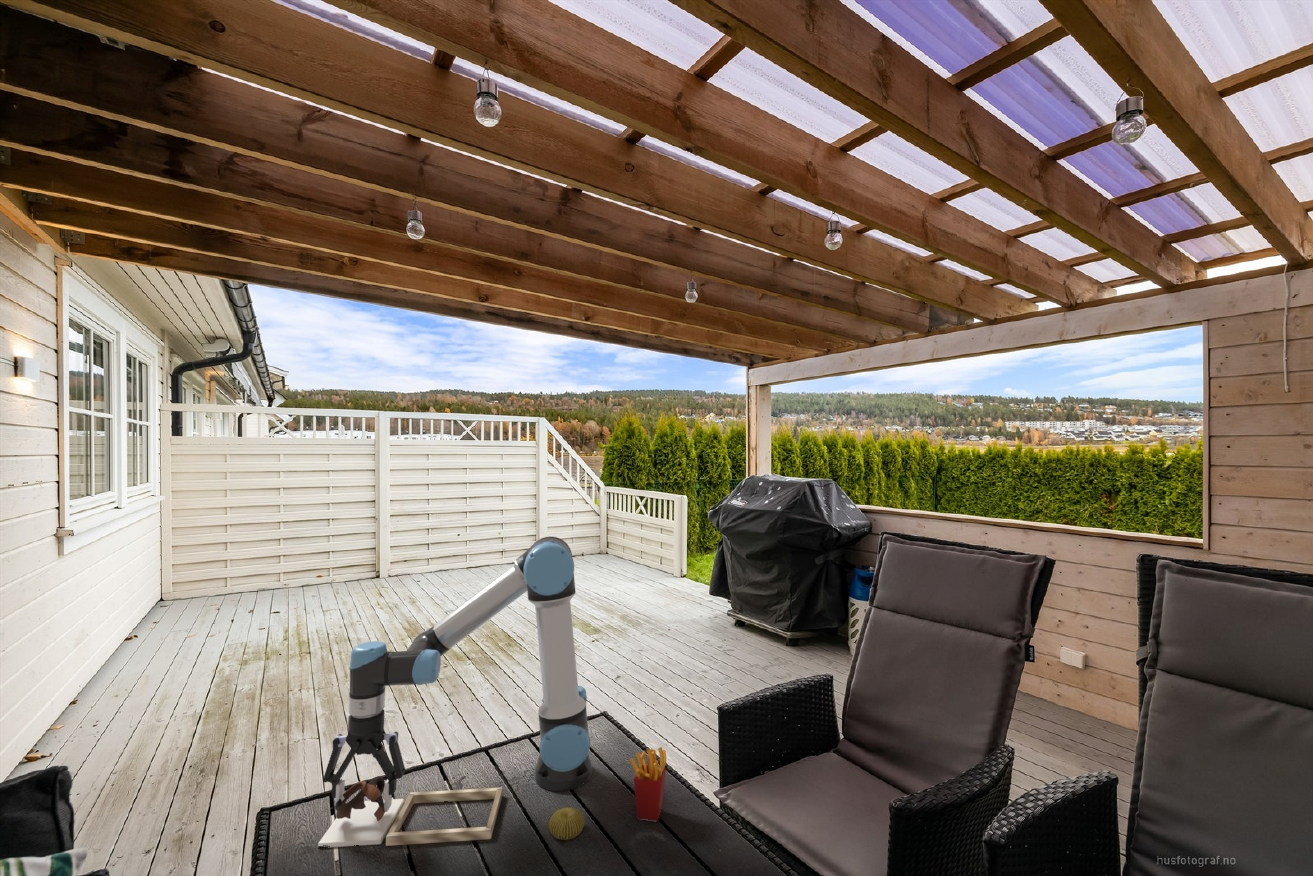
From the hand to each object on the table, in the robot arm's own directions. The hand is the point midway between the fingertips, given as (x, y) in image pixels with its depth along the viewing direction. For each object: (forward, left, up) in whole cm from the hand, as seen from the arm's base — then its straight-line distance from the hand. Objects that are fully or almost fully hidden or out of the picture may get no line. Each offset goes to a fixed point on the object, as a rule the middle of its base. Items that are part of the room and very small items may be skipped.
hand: (363, 809), depth 131 cm
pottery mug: (-1, +1, -1) cm, 1 cm away
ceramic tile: (0, 0, -3) cm, 3 cm away
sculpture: (-47, +7, -4) cm, 48 cm away
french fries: (-66, +2, -4) cm, 66 cm away
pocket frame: (-19, 0, -3) cm, 19 cm away
